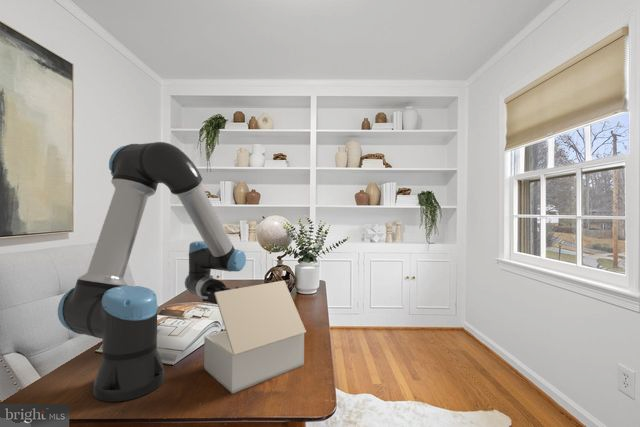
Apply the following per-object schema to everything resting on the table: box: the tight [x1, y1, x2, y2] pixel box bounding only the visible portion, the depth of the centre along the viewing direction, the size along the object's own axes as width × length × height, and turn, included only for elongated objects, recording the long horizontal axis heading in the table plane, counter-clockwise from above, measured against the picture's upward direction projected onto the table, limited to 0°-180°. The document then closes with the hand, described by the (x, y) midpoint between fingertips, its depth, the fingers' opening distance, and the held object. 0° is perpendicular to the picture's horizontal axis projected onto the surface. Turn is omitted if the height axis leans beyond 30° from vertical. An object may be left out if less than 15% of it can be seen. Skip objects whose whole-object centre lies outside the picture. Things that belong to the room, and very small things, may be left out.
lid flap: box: [214, 280, 307, 355], centre depth 89 cm, size 22×16×1 cm
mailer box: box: [203, 330, 305, 394], centre depth 92 cm, size 22×16×9 cm
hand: (246, 305), depth 97 cm, fingers closed
